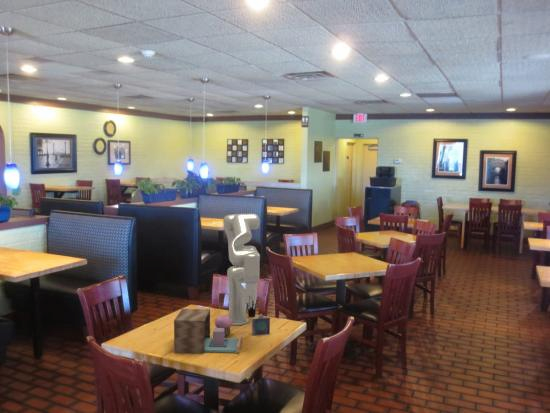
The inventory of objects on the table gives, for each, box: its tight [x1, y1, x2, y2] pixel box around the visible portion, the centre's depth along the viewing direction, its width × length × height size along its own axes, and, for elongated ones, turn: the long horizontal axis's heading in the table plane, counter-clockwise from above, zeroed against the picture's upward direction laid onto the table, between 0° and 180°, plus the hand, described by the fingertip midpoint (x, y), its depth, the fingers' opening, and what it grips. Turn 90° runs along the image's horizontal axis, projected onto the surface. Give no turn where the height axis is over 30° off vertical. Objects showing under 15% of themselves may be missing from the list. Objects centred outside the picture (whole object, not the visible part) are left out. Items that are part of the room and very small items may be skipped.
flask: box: [251, 313, 271, 336], centre depth 242 cm, size 9×3×11 cm, turn 102°
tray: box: [204, 332, 243, 354], centre depth 226 cm, size 18×17×3 cm
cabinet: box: [173, 308, 211, 354], centre depth 226 cm, size 14×17×16 cm
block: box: [212, 327, 226, 345], centre depth 226 cm, size 5×5×7 cm
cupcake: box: [214, 315, 233, 337], centre depth 241 cm, size 9×9×10 cm
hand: (251, 316), depth 224 cm, fingers closed
